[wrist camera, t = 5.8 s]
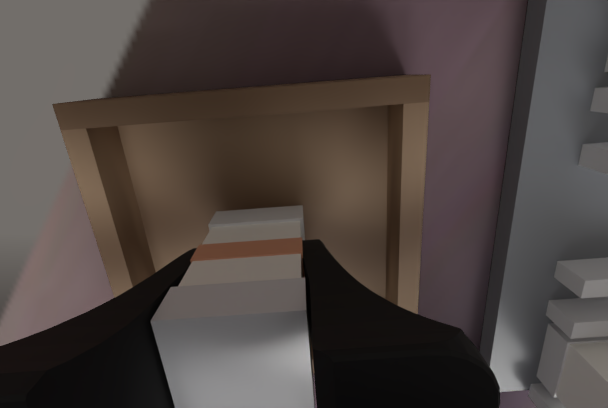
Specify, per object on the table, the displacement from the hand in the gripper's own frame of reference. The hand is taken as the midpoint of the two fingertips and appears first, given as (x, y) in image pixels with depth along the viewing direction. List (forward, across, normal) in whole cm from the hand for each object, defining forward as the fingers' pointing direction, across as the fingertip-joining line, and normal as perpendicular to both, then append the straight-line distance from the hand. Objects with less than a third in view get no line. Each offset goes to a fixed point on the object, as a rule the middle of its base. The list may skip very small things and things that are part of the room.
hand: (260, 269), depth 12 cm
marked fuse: (+2, 0, 0) cm, 2 cm away
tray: (+3, 0, 0) cm, 3 cm away
